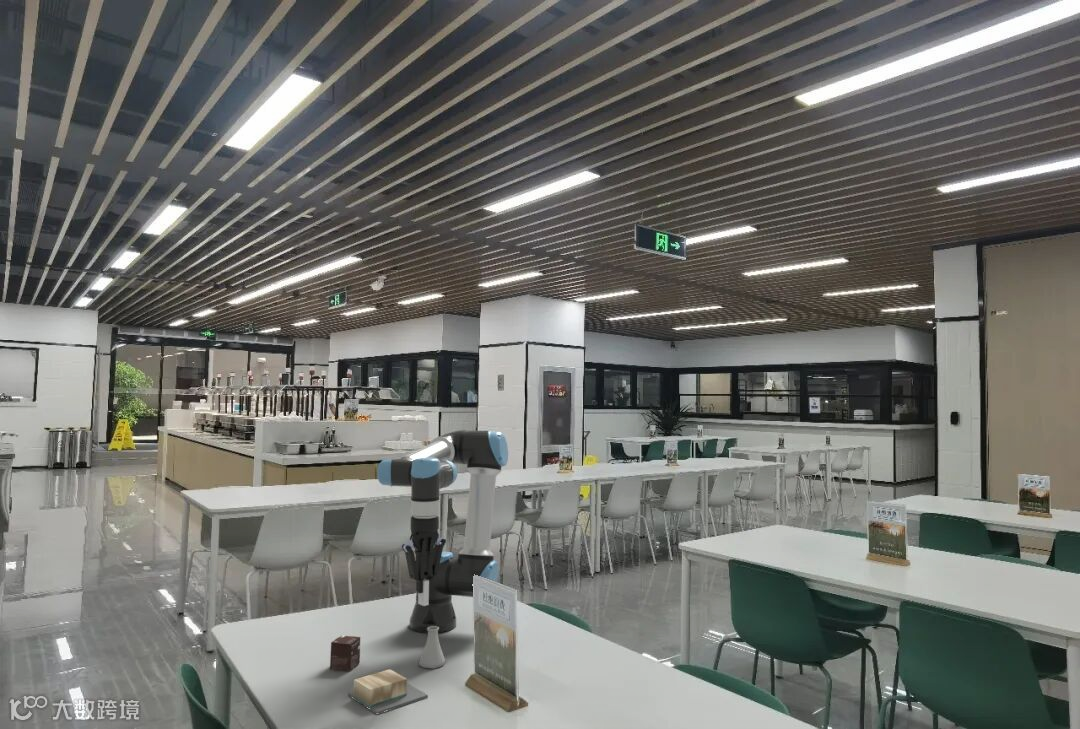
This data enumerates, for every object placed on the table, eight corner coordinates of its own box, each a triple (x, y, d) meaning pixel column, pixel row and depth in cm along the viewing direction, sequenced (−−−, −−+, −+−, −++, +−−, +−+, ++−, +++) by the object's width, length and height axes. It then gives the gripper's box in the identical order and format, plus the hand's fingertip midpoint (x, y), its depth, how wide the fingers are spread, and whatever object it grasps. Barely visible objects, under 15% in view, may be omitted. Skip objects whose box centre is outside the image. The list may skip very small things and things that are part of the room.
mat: (397, 679, 173) (397, 677, 173) (427, 697, 163) (427, 694, 163) (347, 694, 163) (348, 692, 163) (377, 714, 153) (377, 711, 153)
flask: (450, 662, 186) (451, 625, 187) (435, 671, 179) (436, 633, 180) (428, 657, 189) (429, 622, 190) (413, 666, 182) (414, 629, 183)
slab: (389, 669, 168) (354, 679, 162) (407, 678, 163) (370, 689, 156) (389, 685, 168) (353, 696, 161) (406, 695, 162) (370, 707, 155)
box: (349, 672, 178) (350, 644, 178) (329, 670, 179) (330, 642, 179) (360, 663, 184) (361, 636, 184) (340, 661, 185) (341, 634, 185)
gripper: (436, 510, 185) (435, 595, 184) (396, 516, 176) (394, 606, 175) (452, 514, 180) (451, 602, 179) (412, 521, 171) (410, 613, 170)
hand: (423, 604), depth 177 cm, fingers closed
